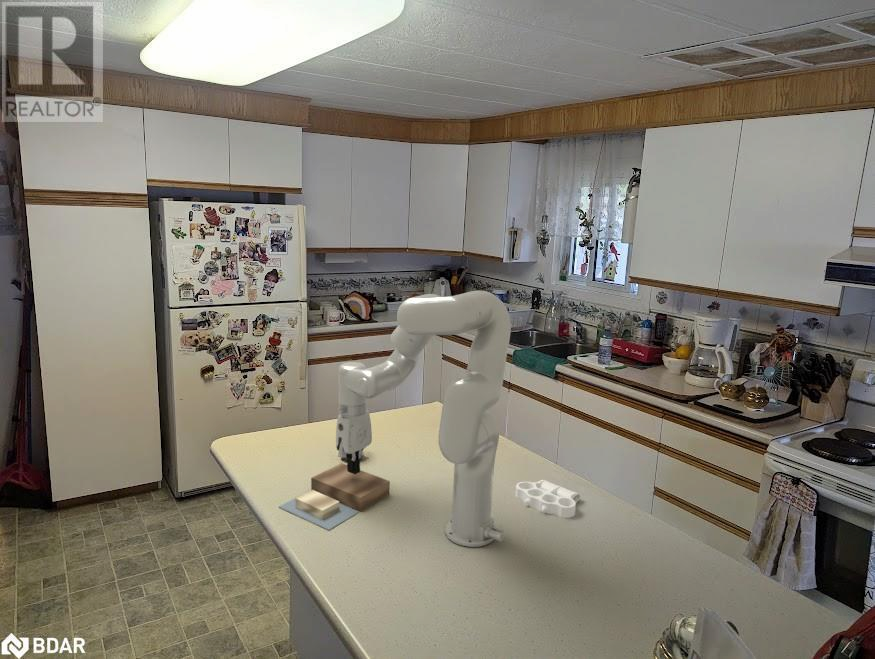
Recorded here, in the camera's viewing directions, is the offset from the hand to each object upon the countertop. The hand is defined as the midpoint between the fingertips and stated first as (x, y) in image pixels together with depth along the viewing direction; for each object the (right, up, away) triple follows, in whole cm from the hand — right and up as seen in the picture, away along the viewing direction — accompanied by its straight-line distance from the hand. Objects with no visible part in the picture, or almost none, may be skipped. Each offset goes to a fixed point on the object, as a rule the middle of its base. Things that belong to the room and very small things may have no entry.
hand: (353, 471), depth 163 cm
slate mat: (-8, -8, -8) cm, 14 cm away
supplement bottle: (-4, -1, +23) cm, 24 cm away
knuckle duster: (+53, -9, +1) cm, 54 cm away
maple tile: (-8, -6, -9) cm, 13 cm away
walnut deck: (-1, -6, +1) cm, 6 cm away
